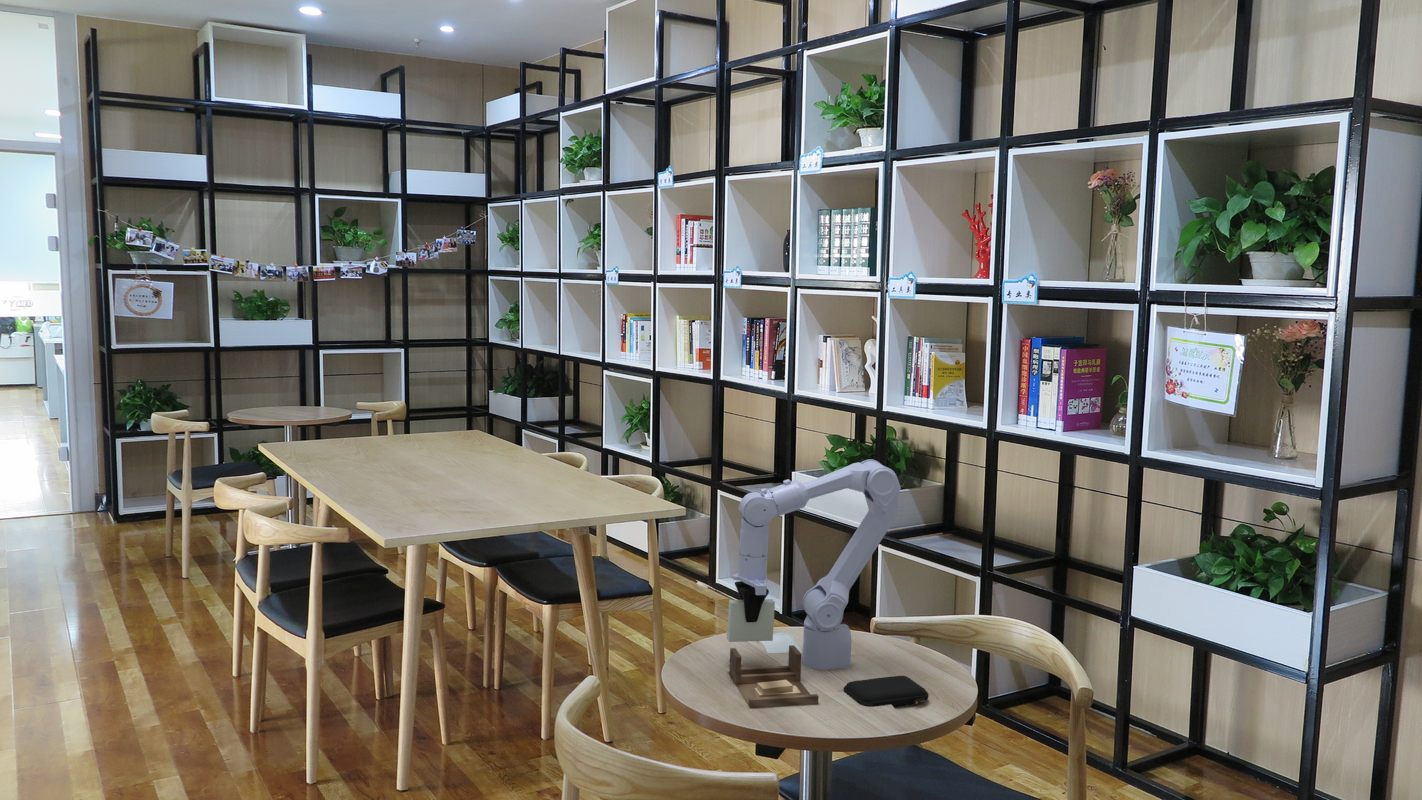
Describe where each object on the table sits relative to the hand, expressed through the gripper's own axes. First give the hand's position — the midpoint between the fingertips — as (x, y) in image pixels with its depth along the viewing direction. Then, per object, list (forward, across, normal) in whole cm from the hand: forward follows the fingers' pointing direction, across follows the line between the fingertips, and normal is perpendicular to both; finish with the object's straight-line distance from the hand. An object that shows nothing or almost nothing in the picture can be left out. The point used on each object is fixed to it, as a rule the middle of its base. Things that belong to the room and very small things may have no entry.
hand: (749, 619), depth 215 cm
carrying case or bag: (+11, +19, +23) cm, 31 cm away
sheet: (+4, 0, 0) cm, 4 cm away
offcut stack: (+9, +16, +2) cm, 19 cm away
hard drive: (+11, -12, +10) cm, 19 cm away
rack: (+10, +12, +2) cm, 16 cm away
